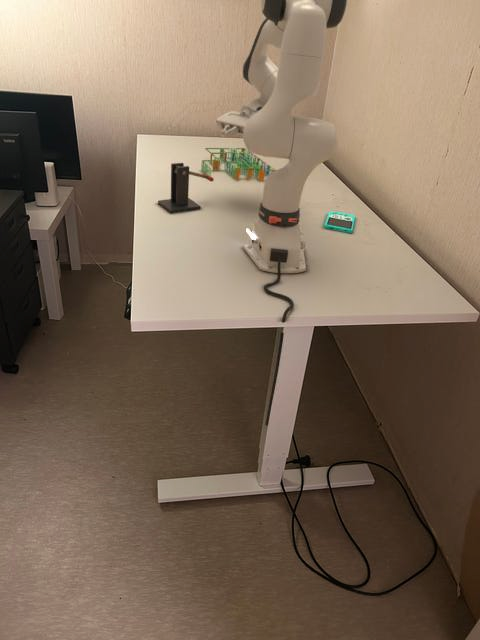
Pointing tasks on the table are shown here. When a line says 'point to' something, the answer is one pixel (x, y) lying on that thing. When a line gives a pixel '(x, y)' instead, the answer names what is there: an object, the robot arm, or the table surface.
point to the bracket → (179, 191)
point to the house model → (245, 163)
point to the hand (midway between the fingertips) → (223, 135)
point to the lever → (197, 174)
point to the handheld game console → (340, 222)
